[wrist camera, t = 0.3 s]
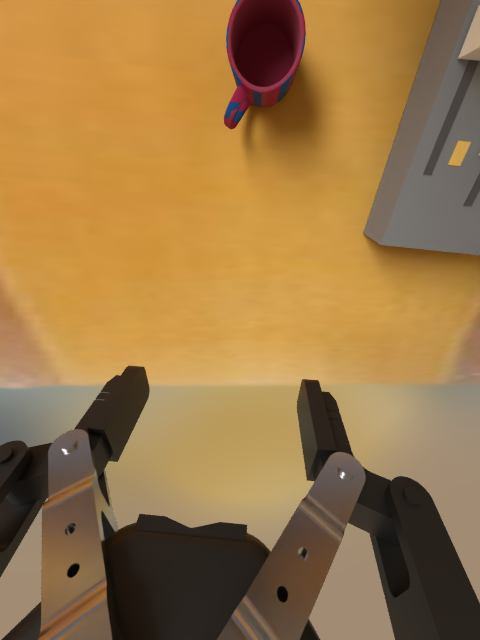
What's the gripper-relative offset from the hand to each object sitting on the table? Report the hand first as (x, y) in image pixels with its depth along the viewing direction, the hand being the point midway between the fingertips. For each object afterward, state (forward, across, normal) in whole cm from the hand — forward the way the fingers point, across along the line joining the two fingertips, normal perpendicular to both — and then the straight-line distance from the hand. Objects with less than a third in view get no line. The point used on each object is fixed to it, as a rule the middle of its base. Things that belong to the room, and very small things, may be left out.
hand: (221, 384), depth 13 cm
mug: (+29, 0, -17) cm, 33 cm away
